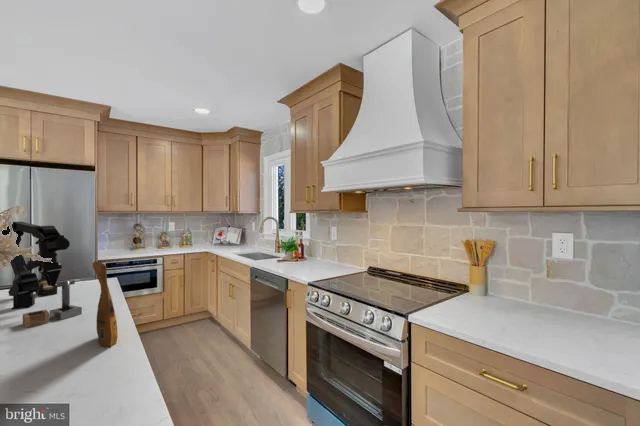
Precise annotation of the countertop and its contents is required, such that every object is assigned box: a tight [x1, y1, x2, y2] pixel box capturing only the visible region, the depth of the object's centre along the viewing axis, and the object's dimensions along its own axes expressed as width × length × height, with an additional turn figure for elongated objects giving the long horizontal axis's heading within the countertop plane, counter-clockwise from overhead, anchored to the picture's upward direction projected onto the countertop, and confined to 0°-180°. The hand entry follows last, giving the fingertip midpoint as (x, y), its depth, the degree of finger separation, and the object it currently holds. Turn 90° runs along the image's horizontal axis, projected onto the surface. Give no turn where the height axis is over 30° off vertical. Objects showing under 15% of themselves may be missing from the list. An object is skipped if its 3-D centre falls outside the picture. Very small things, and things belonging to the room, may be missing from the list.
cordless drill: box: [35, 251, 58, 297], centre depth 165 cm, size 8×21×25 cm, turn 53°
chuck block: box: [48, 304, 83, 321], centre depth 132 cm, size 8×8×3 cm
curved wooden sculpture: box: [92, 260, 119, 348], centre depth 107 cm, size 7×19×28 cm, turn 39°
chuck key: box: [56, 279, 76, 311], centre depth 132 cm, size 6×3×15 cm, turn 158°
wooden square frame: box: [22, 309, 50, 328], centre depth 123 cm, size 7×7×4 cm
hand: (51, 285), depth 139 cm, fingers open, 9 cm apart
